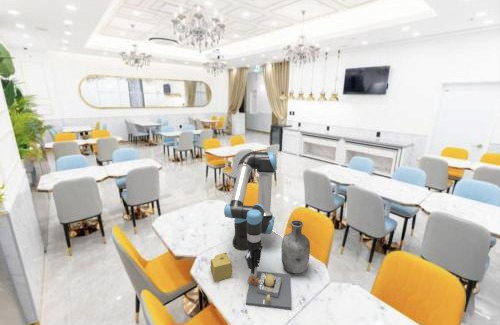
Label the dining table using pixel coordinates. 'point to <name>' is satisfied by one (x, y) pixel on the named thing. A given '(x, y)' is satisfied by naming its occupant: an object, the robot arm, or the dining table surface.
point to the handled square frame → (262, 288)
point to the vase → (295, 249)
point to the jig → (267, 300)
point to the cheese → (221, 267)
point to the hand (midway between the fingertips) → (254, 276)
